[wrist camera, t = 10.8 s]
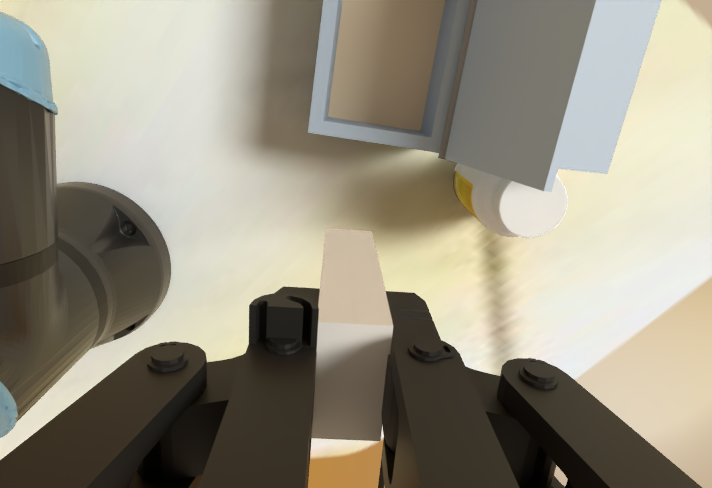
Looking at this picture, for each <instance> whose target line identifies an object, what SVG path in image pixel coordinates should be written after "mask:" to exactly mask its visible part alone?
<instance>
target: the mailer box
mask: <svg viewBox="0 0 712 488" xmlns="http://www.w3.org/2000/svg"><path fill="white" fill-rule="evenodd" d="M469 3H470V0H323V7H322V15H321V24H320V32H319V41H318V49H317V58H316V66H315V75H314V84H313V92H312V101H311V109H310V118H309V126H308V133H313V134H320V135H326V136H333V137H339V138H346V139H352V140H359V141H365V142H372V143H378V144H385V145H391V146H398V147H404V148H411V149H417V150H424V151H430V152H437V153H439V152H440V147H441V142H442V137H443V132H444V127H445V122H446V117H447V112H448V107H449V102H450V97H451V92H452V87H453V82H454V77H455V72H456V68H457V63H458V58H459V53H460V48H461V43H462V38H463V33H464V28H465V23H466V18H467V13H468V8H469Z"/></svg>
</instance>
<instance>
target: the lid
mask: <svg viewBox="0 0 712 488" xmlns="http://www.w3.org/2000/svg"><path fill="white" fill-rule="evenodd" d="M660 3H661V0H470V3H469V8H468V13H467V18H466V23H465V28H464V33H463V38H462V43H461V48H460V53H459V58H458V63H457V68H456V72H455V77H454V82H453V87H452V92H451V97H450V102H449V107H448V112H447V117H446V122H445V127H444V132H443V137H442V142H441V147H440V152H439V157H438V158H441V159H446V160H449V161H452V162H455V163H458V164H461V165H464V166H467V167H471V168H474V169H477V170H480V171H483V172H486V173H489V174H492V175H495V176H498V177H501V178H504V179H507V180H510V181H514V182H517V183H520V184H523V185H526V186H529V187H532V188H535V189H538V190H541V191H547V192H552V189H553V185H554V181H555V178H556V174H557V171H558V169H565V170H575V171H585V172H594V173H604V174H607V173H608V170H609V166H610V163H611V160H612V157H613V154H614V150H615V147H616V144H617V141H618V138H619V134H620V131H621V128H622V125H623V122H624V118H625V115H626V112H627V109H628V106H629V102H630V99H631V96H632V93H633V90H634V86H635V83H636V80H637V77H638V74H639V70H640V67H641V64H642V61H643V58H644V54H645V51H646V48H647V45H648V42H649V39H650V35H651V32H652V29H653V26H654V23H655V19H656V16H657V13H658V10H659V7H660Z"/></svg>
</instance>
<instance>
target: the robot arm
mask: <svg viewBox="0 0 712 488" xmlns="http://www.w3.org/2000/svg"><path fill="white" fill-rule="evenodd" d="M57 114H58V109H57V106H56V105H55V103H54V102H53V96H52V85H51V74H50V63H49V55H48V51H47V48H46V46H45V44H44V42H43V41H42V39H41V38H40V36H39V35H38V34H37V33H36V32H35V31H34V30H33V29H32V28H30V27H29V26H28V25H27V24H25V23H23V22H22V21H20V20H18V19H16V18H14V17H12V16H10V15H8V14H5V13H3V12H0V438H1V437H3V436H5V435H6V434H8V433H9V432H10V431H11V430H12V429H13V427H14V426H15V423H16V422H17V421H18V420H19V419H20V418H21V417H22V416H23V415H24V414H25V413H26V412H27V411H28V410H29V409H30V408H31V407H32V406H33V405H34V404H35V403H36V402H37V401H38V400H39V399H40V398H41V397H42V396H43V395H44V394H45V393H46V392H47V391H48V390H49V389H50V388H51V387H52V386H53V385H54V384H55V383H56V382H57V381H58V380H59V379H60V378H61V377H62V376H63V375H64V374H65V373H66V372H67V371H68V370H69V369H70V368H71V367H72V366H73V365H74V364H75V363H76V362H77V361H78V360H79V359H80V358H81V357H82V356H83V355H84V354H85V353H86V352H87V351H88V350H89V349H91V348H94V347H97V346H99V345H102V344H105V343H108V342H110V341H113V340H116V339H119V338H121V337H124V336H126V335H128V334H130V333H131V332H133V331H135V330H136V329H137V328H139V327H140V326H141V325H142V324H144V323H145V322H146V321H147V320H148V319H149V318H150V316H151V315H152V314H153V313H154V312H155V311H156V310H157V309H158V307H159V306H160V305H161V303H162V301H163V300H164V298H165V296H166V293H167V291H168V287H169V283H170V277H171V263H170V256H169V252H168V248H167V245H166V242H165V240H164V238H163V236H162V234H161V232H160V230H159V229H158V227H157V225H156V224H155V223H154V221H153V220H152V219H151V217H150V216H149V215H148V214H147V213H146V212H145V211H144V210H143V209H142V208H141V207H140V206H138V205H137V204H136V203H135V202H133V201H132V200H131V199H129V198H128V197H126V196H124V195H123V194H121V193H119V192H117V191H115V190H112V189H110V188H107V187H104V186H101V185H97V184H92V183H85V182H68V183H61V184H57V183H56V144H55V115H57ZM382 424H383V432H384V442H383V450H382V459H381V468H380V476H379V485H378V488H384V486H385V488H702V487H701V486H700V485H698V484H697V483H696V482H695V481H694V480H692V479H691V478H690V477H689V476H688V475H686V474H685V473H684V472H683V471H682V470H681V469H679V468H678V467H677V466H676V465H675V464H673V463H672V462H671V461H670V460H669V459H667V458H666V457H665V456H664V455H663V454H662V453H660V452H659V451H658V450H657V449H655V448H654V447H653V446H652V445H651V444H650V443H648V442H647V441H646V440H645V439H644V438H642V437H641V436H640V435H639V434H638V433H637V432H635V431H634V430H633V429H632V428H631V427H629V426H628V425H627V424H626V423H625V422H623V421H622V420H621V419H620V418H619V417H618V416H616V415H615V414H614V413H613V412H612V411H610V410H609V409H608V408H607V407H606V406H604V405H603V404H602V403H601V402H599V400H597V399H596V398H595V397H594V396H593V395H591V394H590V393H589V392H588V391H587V390H585V389H584V388H583V387H582V386H581V385H579V384H578V383H577V382H576V381H575V380H574V379H572V378H571V377H570V376H569V375H568V374H566V373H565V372H563V371H562V370H560V369H559V368H557V367H555V366H552V365H550V364H548V363H546V362H544V361H541V360H536V359H531V358H528V359H519V358H517V359H513V360H509V361H507V362H506V363H505V364H504V365H503V366H502V370H501V375H500V376H497V375H492V374H488V373H484V372H480V371H476V370H473V369H470V368H468V367H465V365H464V363H463V361H462V358H461V356H460V354H459V353H458V352H457V350H456V349H455V348H454V347H453V346H451V345H449V344H448V343H446V342H444V341H441V339H440V337H439V334H438V332H437V329H436V327H435V324H434V322H433V321H432V317H431V314H430V313H429V309H428V307H427V305H426V302H425V301H424V300H423V299H421V298H420V297H419V296H418V295H416V294H415V293H406V292H389V291H385V287H384V282H383V278H382V274H381V269H380V265H379V260H378V256H377V251H376V247H375V243H374V238H373V234H372V231H365V230H350V229H334V228H326V233H325V243H324V253H323V263H322V273H321V282H320V289H315V288H298V287H282V288H281V289H280V290H278V291H277V292H275V293H274V294H269V295H264V296H261V297H259V298H257V299H255V300H254V301H253V302H252V303H251V304H250V305H249V345H248V348H247V351H246V353H245V354H243V355H241V356H238V357H235V358H232V359H227V360H222V361H214V362H207V359H206V354H205V352H204V351H203V350H202V349H201V348H200V347H198V346H195V345H192V344H189V343H180V342H169V343H167V342H165V343H160V344H158V345H154V346H151V347H148V348H145V349H144V350H142V351H140V352H138V353H137V354H135V355H134V356H132V357H131V358H130V359H129V360H127V361H126V362H125V363H124V364H122V365H121V366H120V367H118V368H117V369H116V370H115V371H113V372H112V373H111V374H110V375H108V376H107V377H106V378H104V379H103V380H102V381H101V382H99V383H98V384H97V385H96V386H94V387H93V388H92V389H90V390H89V391H88V392H87V393H85V394H84V395H83V396H82V397H80V398H79V399H78V400H76V401H75V402H74V403H73V404H71V405H70V406H69V407H68V408H66V409H65V410H64V411H62V412H61V413H60V414H59V415H57V416H56V417H55V418H54V419H52V420H51V421H50V422H48V423H47V424H46V425H45V426H43V427H42V428H41V429H40V430H38V431H37V432H36V433H34V434H33V435H32V436H31V437H29V438H28V439H27V440H26V441H24V442H23V443H22V444H20V445H19V446H18V447H17V448H15V449H14V450H13V451H12V452H10V453H9V454H8V455H6V456H5V457H4V458H3V459H1V460H0V488H308V477H309V464H310V450H311V438H321V439H345V440H369V441H380V439H381V430H382ZM556 465H557V466H558V467H559V468H560V469H561V470H562V471H563V473H564V474H565V475H566V477H567V478H568V481H567V484H566V486H565V487H564V486H563V485H562V484H561V483H560V482H559V481H558V480H557V479H556V477H555V476H554V472H555V468H556Z"/></svg>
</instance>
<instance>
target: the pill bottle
mask: <svg viewBox="0 0 712 488" xmlns="http://www.w3.org/2000/svg"><path fill="white" fill-rule="evenodd" d="M453 186H454V190H455V193H456V196H457V197H458V199H459V201H460V202H461V203H462V204H463V205H464V206H465V207H466V208H467V209H468V210H469V211H470V212H471V213H472V214H473V215H474V216H475V217H476V218H477V219H478V220H479V221H480V222H481V223H482V224H483V225H484V226H485V227H486V228H487V229H489V230H490V231H492V232H494V233H496V234H499V235H502V236H507V237H519V236H520V237H524V238H535V237H539V236H543V235H545V234H547V233H549V232H550V231H552V230H553V229H554V228H556V227H557V226H558V224H559V223H560V222H561V221H562V219H563V217H564V215H565V213H566V210H567V206H568V195H567V191H566V188H565V186H564V184H563V183H562V182H561V180H560V179H559V176H558V174H556V178H555V181H554V185H553V189H552V192H547V191H541V190H538V189H535V188H532V187H529V186H526V185H523V184H520V183H517V182H514V181H510V180H507V179H504V178H501V177H498V176H495V175H492V174H489V173H486V172H483V171H480V170H477V169H474V168H471V167H467V166H464V165H461V164H458V163H457V165H456V167H455V170H454V175H453Z"/></svg>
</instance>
